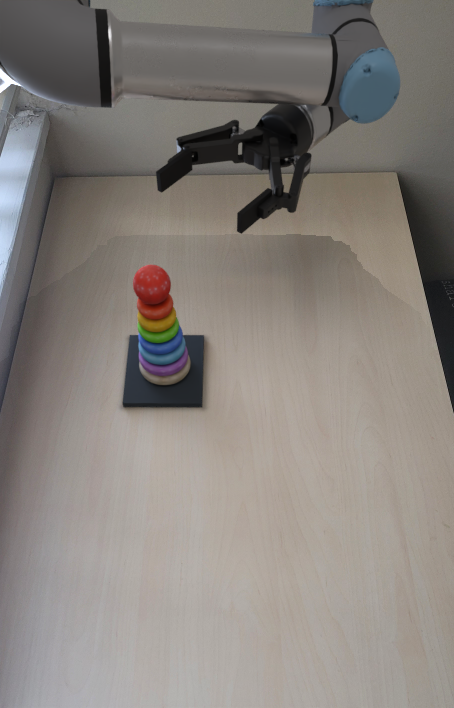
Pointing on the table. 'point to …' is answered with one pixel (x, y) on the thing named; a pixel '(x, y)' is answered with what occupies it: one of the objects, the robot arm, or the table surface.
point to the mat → (173, 395)
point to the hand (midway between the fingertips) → (197, 202)
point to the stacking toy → (159, 329)
